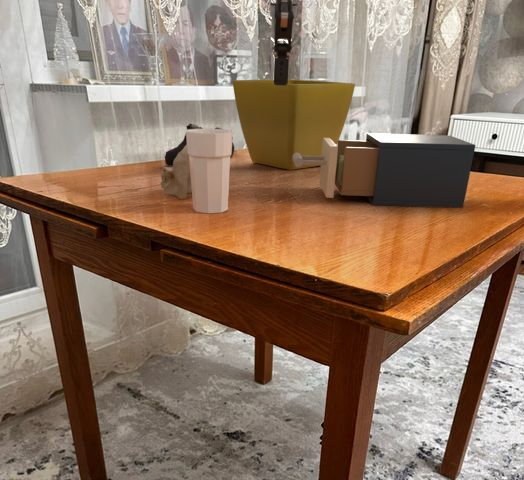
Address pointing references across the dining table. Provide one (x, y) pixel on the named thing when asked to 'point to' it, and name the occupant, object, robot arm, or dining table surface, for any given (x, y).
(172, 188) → the beige rough lump
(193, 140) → the cup
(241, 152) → the dining table surface
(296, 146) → the flower pot
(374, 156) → the drawer
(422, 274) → the dining table surface
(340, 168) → the block
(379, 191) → the cabinet
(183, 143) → the game controller
